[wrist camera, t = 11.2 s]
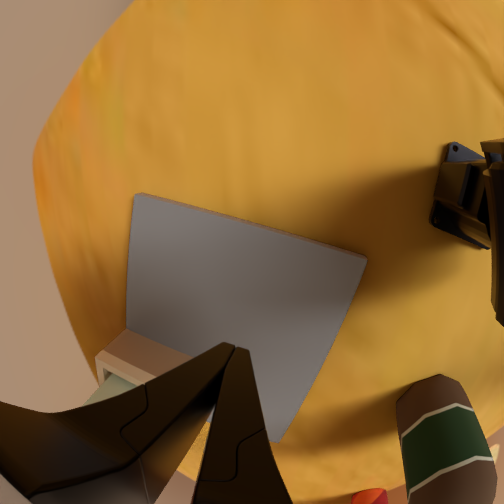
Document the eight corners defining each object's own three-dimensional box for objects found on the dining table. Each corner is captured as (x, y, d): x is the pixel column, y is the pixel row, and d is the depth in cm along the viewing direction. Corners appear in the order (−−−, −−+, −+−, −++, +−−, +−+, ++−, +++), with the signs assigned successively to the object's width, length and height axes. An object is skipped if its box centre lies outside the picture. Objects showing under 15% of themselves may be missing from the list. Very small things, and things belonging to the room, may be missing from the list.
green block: (166, 392, 21) (132, 442, 15) (164, 423, 23) (137, 467, 17) (116, 368, 22) (78, 410, 16) (120, 401, 23) (89, 440, 18)
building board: (365, 256, 20) (383, 291, 14) (279, 436, 27) (270, 480, 21) (141, 192, 22) (90, 203, 16) (132, 382, 29) (105, 415, 23)
